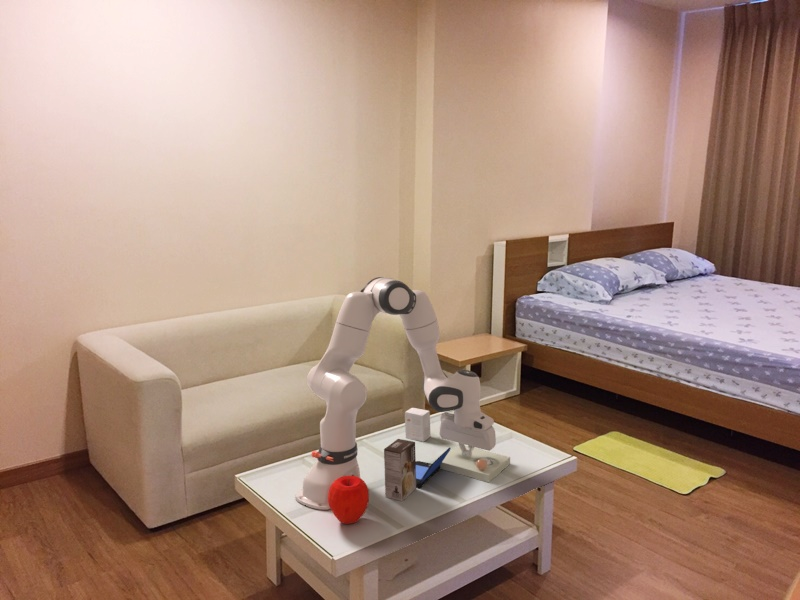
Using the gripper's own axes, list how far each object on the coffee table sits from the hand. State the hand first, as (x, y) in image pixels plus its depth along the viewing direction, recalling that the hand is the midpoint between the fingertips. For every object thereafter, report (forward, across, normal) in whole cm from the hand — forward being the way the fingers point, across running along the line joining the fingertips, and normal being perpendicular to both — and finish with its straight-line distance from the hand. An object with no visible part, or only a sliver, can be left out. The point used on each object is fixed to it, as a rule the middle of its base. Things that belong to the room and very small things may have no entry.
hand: (466, 455), depth 219 cm
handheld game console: (+4, -7, -16) cm, 18 cm away
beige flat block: (+3, +2, 0) cm, 4 cm away
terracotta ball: (-1, +8, -5) cm, 10 cm away
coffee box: (+4, -7, -29) cm, 30 cm away
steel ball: (+2, +7, +1) cm, 7 cm away
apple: (+4, -10, -51) cm, 52 cm away
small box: (+4, -27, +10) cm, 29 cm away
